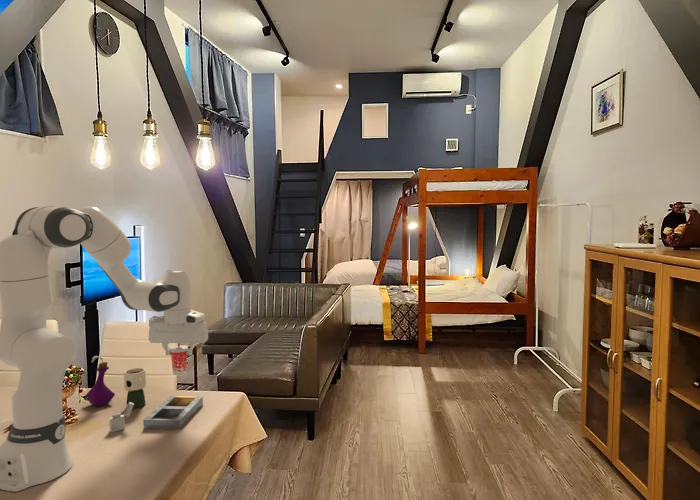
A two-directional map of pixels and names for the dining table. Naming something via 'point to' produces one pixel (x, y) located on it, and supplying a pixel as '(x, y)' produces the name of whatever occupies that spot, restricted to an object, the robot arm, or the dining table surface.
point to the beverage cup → (179, 359)
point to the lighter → (120, 419)
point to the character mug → (135, 385)
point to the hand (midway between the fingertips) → (179, 355)
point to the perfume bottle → (100, 387)
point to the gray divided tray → (173, 412)
